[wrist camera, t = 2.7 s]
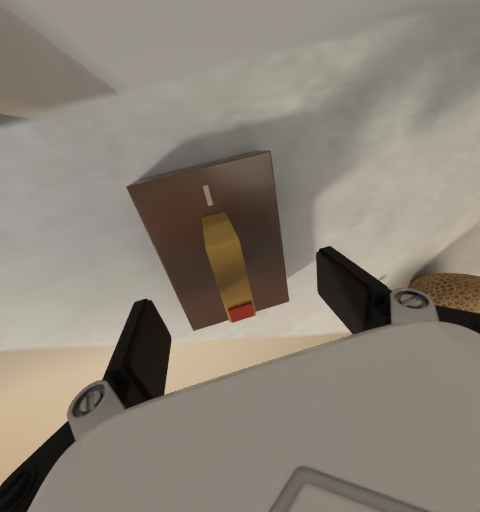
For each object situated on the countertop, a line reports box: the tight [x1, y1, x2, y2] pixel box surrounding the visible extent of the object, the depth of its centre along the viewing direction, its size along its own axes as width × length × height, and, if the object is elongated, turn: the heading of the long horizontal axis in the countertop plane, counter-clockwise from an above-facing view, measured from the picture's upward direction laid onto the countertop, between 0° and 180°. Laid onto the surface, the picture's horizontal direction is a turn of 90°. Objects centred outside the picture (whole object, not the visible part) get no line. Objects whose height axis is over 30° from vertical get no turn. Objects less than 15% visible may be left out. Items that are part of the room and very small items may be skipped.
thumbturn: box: [202, 211, 256, 323], centre depth 14 cm, size 6×2×6 cm, turn 12°
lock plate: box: [127, 151, 289, 331], centre depth 19 cm, size 14×10×3 cm
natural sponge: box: [408, 273, 480, 313], centre depth 24 cm, size 9×9×10 cm
